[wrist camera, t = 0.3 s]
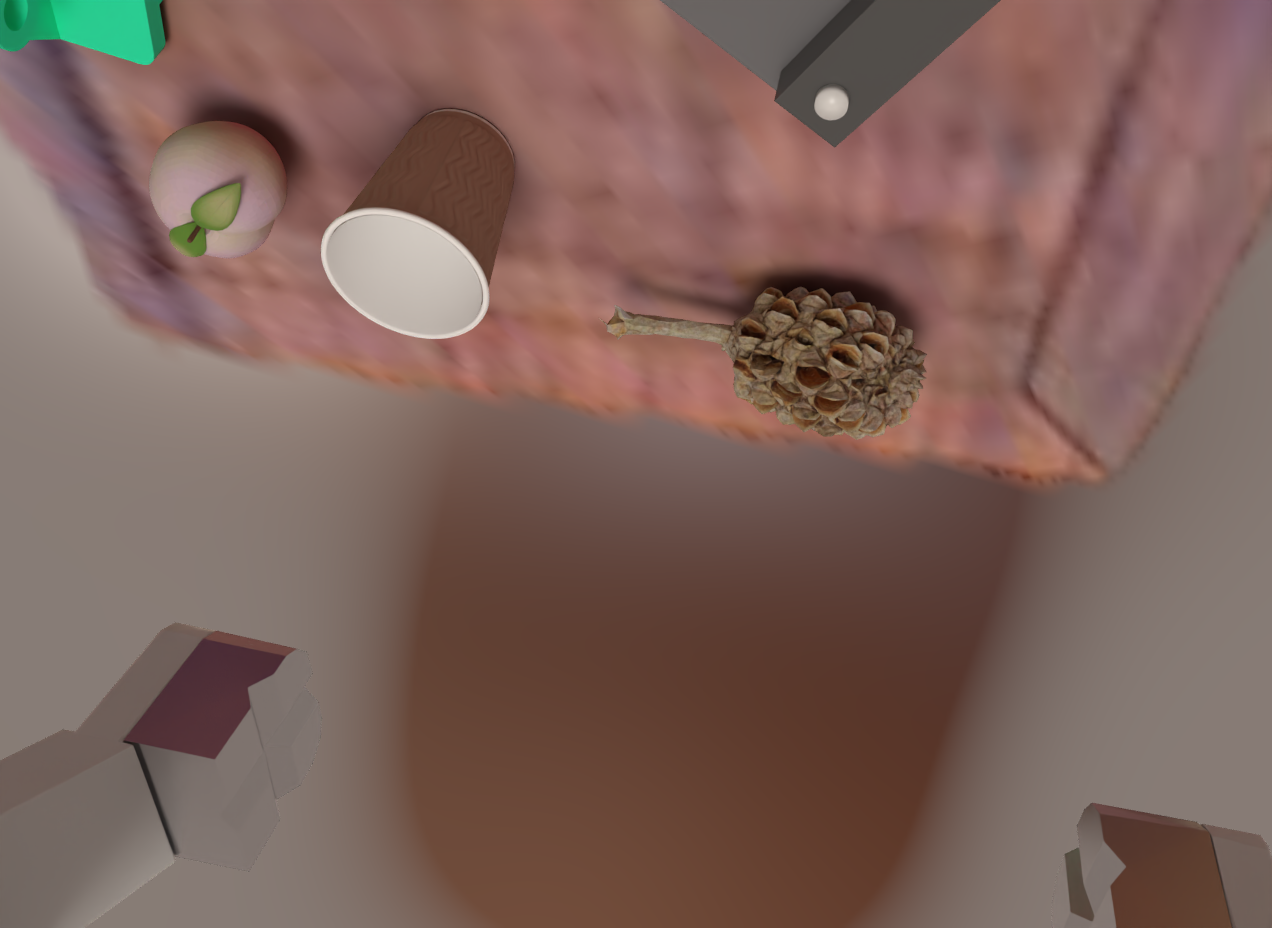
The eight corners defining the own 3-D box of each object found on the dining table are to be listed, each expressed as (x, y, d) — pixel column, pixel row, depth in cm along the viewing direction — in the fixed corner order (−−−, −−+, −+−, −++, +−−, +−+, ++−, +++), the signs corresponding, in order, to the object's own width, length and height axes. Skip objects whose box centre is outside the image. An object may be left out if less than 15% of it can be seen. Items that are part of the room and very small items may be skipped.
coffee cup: (389, 190, 75) (325, 313, 68) (387, 64, 67) (313, 189, 60) (532, 231, 75) (483, 357, 68) (548, 110, 67) (494, 240, 60)
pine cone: (943, 269, 71) (936, 383, 65) (917, 368, 78) (909, 477, 73) (613, 230, 74) (579, 336, 68) (619, 328, 82) (589, 430, 76)
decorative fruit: (209, 59, 69) (135, 156, 64) (326, 132, 72) (266, 231, 66) (176, 149, 76) (106, 245, 70) (284, 212, 79) (226, 309, 73)
